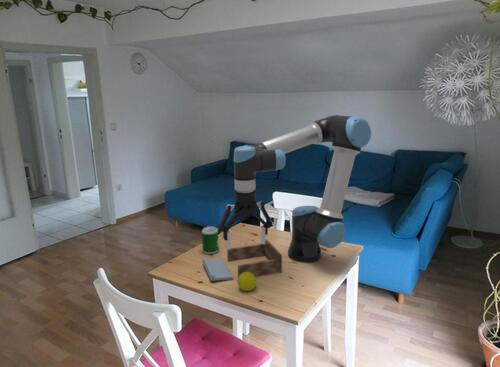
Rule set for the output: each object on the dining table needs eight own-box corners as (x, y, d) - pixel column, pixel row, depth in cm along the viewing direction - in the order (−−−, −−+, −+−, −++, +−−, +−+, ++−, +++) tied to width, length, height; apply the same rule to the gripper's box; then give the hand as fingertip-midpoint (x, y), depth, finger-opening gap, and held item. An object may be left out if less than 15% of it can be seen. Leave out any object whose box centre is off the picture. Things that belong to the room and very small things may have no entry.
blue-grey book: (223, 256, 163) (203, 257, 160) (233, 274, 148) (211, 275, 145) (222, 261, 164) (202, 262, 161) (233, 279, 148) (211, 280, 145)
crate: (266, 255, 171) (266, 238, 169) (281, 272, 154) (281, 255, 152) (227, 261, 165) (226, 244, 163) (238, 280, 148) (238, 261, 146)
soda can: (216, 256, 170) (215, 231, 167) (200, 255, 172) (199, 230, 169) (220, 249, 177) (219, 226, 175) (205, 248, 179) (204, 225, 176)
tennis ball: (240, 295, 137) (240, 278, 135) (236, 286, 144) (235, 270, 142) (258, 292, 139) (258, 275, 137) (253, 283, 146) (253, 267, 144)
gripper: (273, 184, 139) (273, 237, 144) (208, 190, 132) (210, 246, 137) (281, 189, 132) (280, 244, 137) (213, 196, 125) (215, 254, 130)
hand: (245, 245), depth 137 cm, fingers open, 13 cm apart
